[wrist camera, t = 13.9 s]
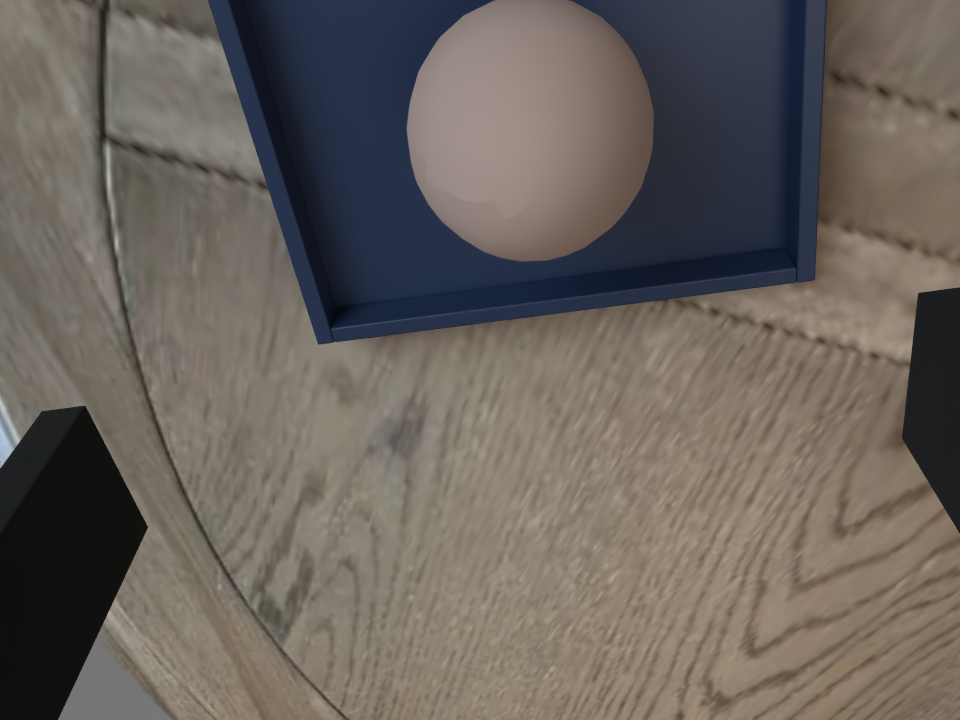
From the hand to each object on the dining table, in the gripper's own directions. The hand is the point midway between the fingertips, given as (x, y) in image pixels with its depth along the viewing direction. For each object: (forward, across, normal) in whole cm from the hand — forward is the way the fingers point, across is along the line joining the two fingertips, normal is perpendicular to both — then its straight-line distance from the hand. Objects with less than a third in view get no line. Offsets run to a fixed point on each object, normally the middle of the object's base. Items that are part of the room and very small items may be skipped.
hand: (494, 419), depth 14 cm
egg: (+17, +1, 0) cm, 17 cm away
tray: (+17, +1, 0) cm, 17 cm away
